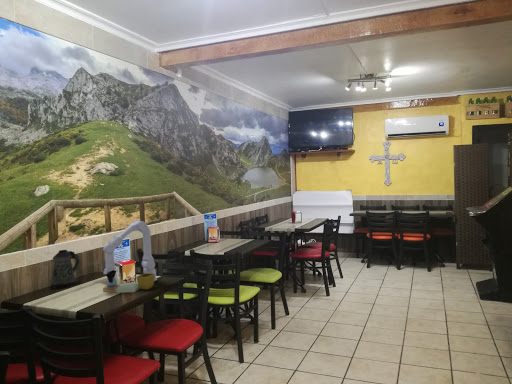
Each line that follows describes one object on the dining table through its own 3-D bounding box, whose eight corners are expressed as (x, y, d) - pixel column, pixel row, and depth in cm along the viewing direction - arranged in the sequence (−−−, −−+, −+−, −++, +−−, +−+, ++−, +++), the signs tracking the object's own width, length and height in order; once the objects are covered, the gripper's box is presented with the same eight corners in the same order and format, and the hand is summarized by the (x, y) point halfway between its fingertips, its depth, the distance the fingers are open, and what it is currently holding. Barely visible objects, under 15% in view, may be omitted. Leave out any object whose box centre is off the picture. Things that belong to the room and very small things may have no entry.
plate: (107, 287, 261) (106, 277, 261) (117, 287, 260) (116, 277, 260) (106, 288, 260) (105, 277, 260) (116, 287, 259) (115, 277, 259)
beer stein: (45, 288, 276) (42, 252, 274) (66, 280, 294) (64, 247, 293) (64, 289, 270) (61, 253, 269) (84, 281, 289) (82, 247, 288)
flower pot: (148, 290, 254) (147, 277, 254) (136, 290, 257) (136, 276, 257) (156, 286, 262) (155, 273, 262) (144, 286, 265) (143, 273, 265)
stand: (108, 288, 264) (107, 285, 264) (120, 288, 263) (120, 284, 263) (103, 291, 258) (102, 287, 257) (116, 291, 256) (115, 287, 256)
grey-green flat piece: (123, 287, 265) (123, 282, 265) (141, 287, 263) (141, 282, 263) (116, 292, 254) (115, 287, 254) (134, 292, 252) (134, 286, 252)
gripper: (109, 259, 267) (111, 279, 268) (98, 264, 253) (100, 285, 253) (119, 259, 266) (120, 279, 267) (108, 264, 252) (110, 285, 252)
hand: (111, 282), depth 260 cm, fingers closed on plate, 1 cm apart
